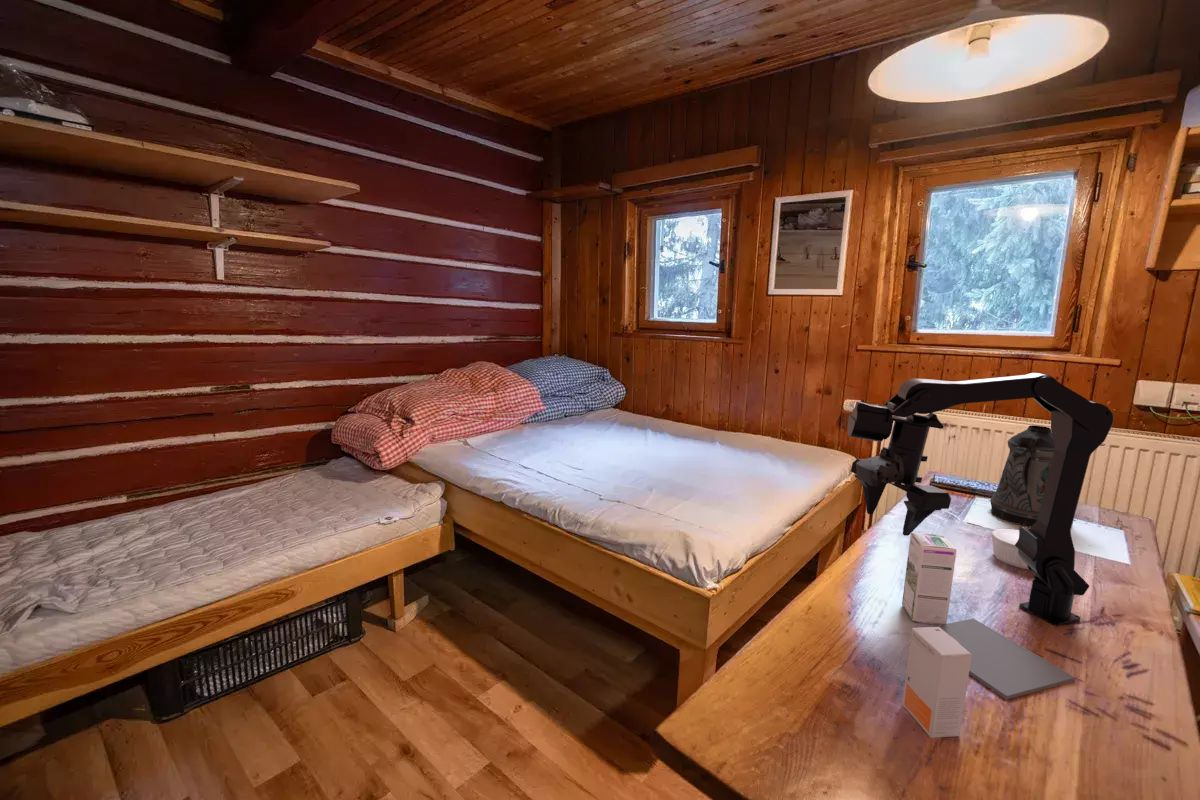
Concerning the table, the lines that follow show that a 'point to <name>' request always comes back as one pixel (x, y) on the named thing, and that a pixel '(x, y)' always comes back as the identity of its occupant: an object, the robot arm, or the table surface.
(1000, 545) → the ramekin
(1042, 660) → the mat
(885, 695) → the table surface
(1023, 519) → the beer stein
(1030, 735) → the table surface
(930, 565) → the syrup box
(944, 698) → the skincare box
